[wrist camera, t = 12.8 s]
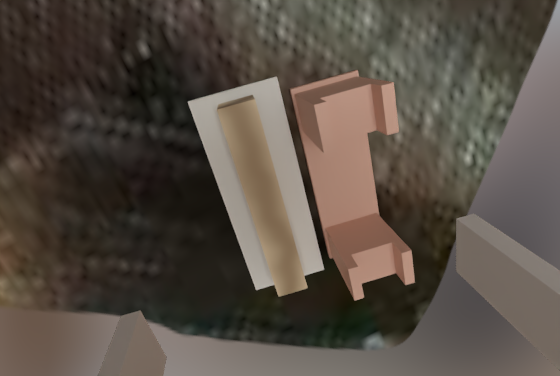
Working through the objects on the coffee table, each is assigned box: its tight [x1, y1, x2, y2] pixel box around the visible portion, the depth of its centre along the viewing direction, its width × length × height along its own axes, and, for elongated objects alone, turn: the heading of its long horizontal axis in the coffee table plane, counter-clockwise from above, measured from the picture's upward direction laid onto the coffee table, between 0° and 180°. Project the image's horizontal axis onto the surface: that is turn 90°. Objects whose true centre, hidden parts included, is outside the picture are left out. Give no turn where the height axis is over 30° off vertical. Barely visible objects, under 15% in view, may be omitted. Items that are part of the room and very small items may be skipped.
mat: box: [188, 76, 324, 290], centre depth 36 cm, size 9×24×1 cm, turn 14°
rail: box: [217, 95, 308, 297], centre depth 35 cm, size 4×22×4 cm, turn 14°
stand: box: [289, 70, 415, 300], centre depth 33 cm, size 7×21×9 cm, turn 14°
